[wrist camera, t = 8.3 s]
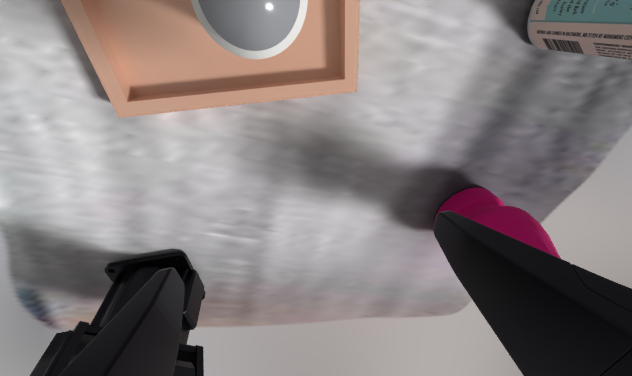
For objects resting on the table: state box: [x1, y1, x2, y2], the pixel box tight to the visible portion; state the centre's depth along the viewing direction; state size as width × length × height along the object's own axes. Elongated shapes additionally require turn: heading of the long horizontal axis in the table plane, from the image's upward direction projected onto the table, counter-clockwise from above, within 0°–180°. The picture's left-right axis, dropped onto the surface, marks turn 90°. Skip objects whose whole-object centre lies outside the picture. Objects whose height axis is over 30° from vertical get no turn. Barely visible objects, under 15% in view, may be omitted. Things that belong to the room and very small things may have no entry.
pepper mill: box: [435, 187, 561, 259], centre depth 18 cm, size 7×7×20 cm
